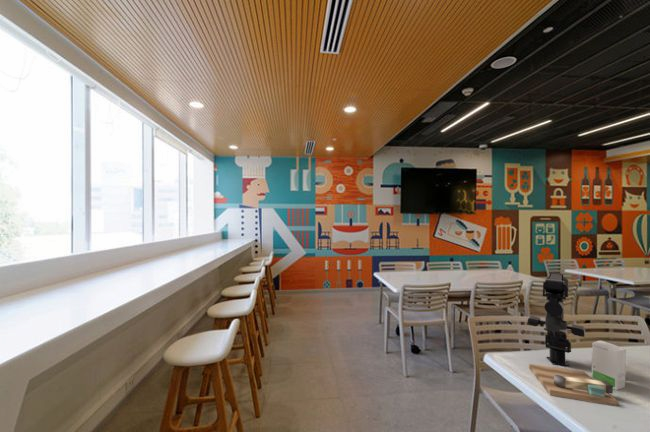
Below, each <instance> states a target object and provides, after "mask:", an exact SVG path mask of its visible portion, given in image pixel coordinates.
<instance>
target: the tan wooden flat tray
mask: <svg viewBox="0 0 650 432" xmlns="http://www.w3.org/2000/svg"><path fill="white" fill-rule="evenodd" d="M528 369H529V371H530V372H531V373H532V374H533V375H534V377H535V378H536V379H537V381H538V382H539V383H540V385H542V387H543V388H544V390H545V391H546V393H548V394H549V396H553V397H557V398H558V397H560V398H566V399H572V400H578V401H584V402H589V403H597V404H602V405H603V404H604V405H608V406H614V407H617V406H618V401H617V399H616V398H615V397H614V396H613V395H611V393H605V389H603V388H602V387H601V386H594V385H588V390H581V389H573V388H561V387H558V386H556V385H555V384H554V375H560V376H563V377H572V378H580V379H589V380H593V379H592V378H591V377H592V376H590V375H589V374H588V373H586V372H585V371H584V370H579V369H578V370H577V369H570V368H563V367H555V366H549V365H540V364H532V363H528Z"/></svg>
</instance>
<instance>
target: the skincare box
mask: <svg viewBox="0 0 650 432" xmlns="http://www.w3.org/2000/svg"><path fill="white" fill-rule="evenodd" d="M591 347H592V349H591V376H590V377H591V378H592V379H593V380H598V381H600V380H603V381H607V382H609V383H610V384H611V385H613V390H615V391H618V390H621V389H623V388H626V371H627V369H626V366H627V365H626V364H627V363H626V362H627V349H626V348H624V347H621V346H618V345H616V344H614V343H609V342H606V341H604V340H602V339H601V340H597V341H593V342H592V345H591Z"/></svg>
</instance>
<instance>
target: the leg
mask: <svg viewBox="0 0 650 432" xmlns="http://www.w3.org/2000/svg"><path fill="white" fill-rule="evenodd" d="M554 384H555V385H556V386H558V387H561V388H573V389H581V390H588V385H594V386H601V387H602V388H603V389H605V393H609V394H613V393H614V389H613V385H611V384H610V383H609V382H607V381H603V380H600V381H598V380H589V379H580V378H572V377H563V376H560V375H554Z"/></svg>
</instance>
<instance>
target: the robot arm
mask: <svg viewBox="0 0 650 432" xmlns="http://www.w3.org/2000/svg"><path fill="white" fill-rule="evenodd" d="M569 286H570V285H569V280H568V279H567V278H566V277H565V276H564V273H560V272H550V273H549V276H547V277H546V279H545V280H544V281H543V283H542V297H544V298H546V301H545V304H544V309H545V312H546V316H545V320H542V319H541V317H539V316H533V315H530V316H529V317H528V318H527V325H528V326H531V327H532V326H533V327H537V326H539V325H540V326H543V330H544V331H546V332H547V333H546V334H545V337H544V339H545V348H547V349H549V356H546V357H545V358H546V359H547V360H548V361H549V362H550V363H551V364H552V365H556V366H557V365H558V366H566V367H570V364H569V363H568V362H567V361H566V353H567V354H570V353H571V352H572V344H571V342H570V339H568V336H567V333H568V331H569V332H571V334H573V336H578V337H581V338H582V337H583V338H584V337H585V336H586V328H585V327H584V326H583V325H577V324H575V323H574V324H573V323H572V325H571V326H570V325H568V322H567V320H565V317H564V314H565V313H564V312H565V311H564V310H565V309H564V307H565V305H564V300H567V298H569V290H570V289H569Z"/></svg>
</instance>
